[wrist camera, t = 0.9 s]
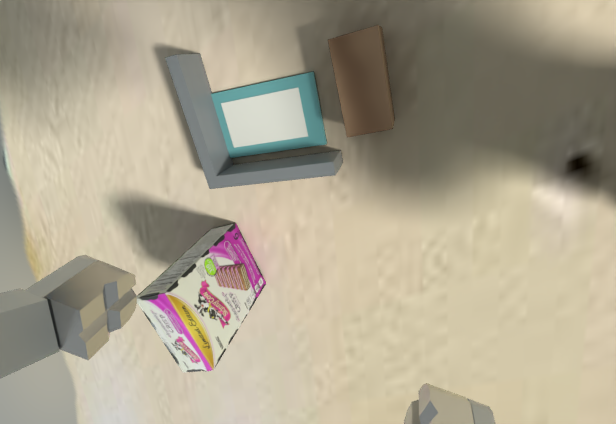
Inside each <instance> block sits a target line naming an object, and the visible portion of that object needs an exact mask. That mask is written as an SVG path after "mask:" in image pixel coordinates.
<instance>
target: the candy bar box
mask: <svg viewBox="0 0 616 424" xmlns="http://www.w3.org/2000/svg"><path fill="white" fill-rule="evenodd" d="M265 285H266V282H265V280H264V278H263V276H262V274H261V272H260V270H259V268H258V266H257V264H256V262H255V260H254V258H253V256H252V254H251V252H250V250H249V248H248V246H247V244H246V242H245V240H244V238H243V236H242V234H241V232H240V230H239V228H238V226H237V224H236V223H233V224H229V225H226V226H222V227H218V228H214V229H211V230H209V231H208V232H207V233H206V234H205V235H204V236H203V237H202V238H201V239H200V240H199V241H197V242H196V243H195V244H194V245H193V246H192V247H191V248H190V249H189V250H188V251H186V252H185V253H184V254H183V255H182V256H181V257H180V258H179V259H177V260H176V261H175V262H174V263H173V264H172V265H171V266H170V267H169V268H168V269H167V270H166V271H164V272H163V273H162V274H161V275H160V276H159V277H158V278H157V279H156V280H154V281H153V282H152V283H151V284H150V285H149V286H147V287H146V288H145V289H144V290H143V291H142V292H141V293H140V294H139V295H138V296H137V303H138V305H139V306H140V308H141V309H142V311H143V312H144V314H145V315H146V317H147V318H148V320H149V321H150V323H151V324H152V326H153V327H154V329H155V330H156V332H157V333H158V335H159V336H160V338H161V340H162V341H163V343H164V344H165V346H166V347H167V349H168V350H169V352H170V353H171V355H172V356H173V358H174V359H175V361H176V363H177V364H178V366H179V367H180V369H181V370H182V372H193V371H194V372H195V371H201V370H202V371H211V370H214V369H215V367H216V365H217V364H218V362H219V360H220V359H221V357H222V355H223V354H224V352H225V350H226V349H227V347H228V345H229V344H230V342H231V340H232V339H233V337H234V335H235V334H236V332H237V331H238V329H239V327H240V326H241V324H242V322H243V320H244V319H245V317H246V316H247V314H248V312H249V311H250V309H251V307H252V306H253V304H254V303H255V301H256V299H257V298H258V296H259V294H260V293H261V291H262V289H263V288H264V286H265Z"/></svg>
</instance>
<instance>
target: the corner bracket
mask: <svg viewBox="0 0 616 424" xmlns="http://www.w3.org/2000/svg"><path fill="white" fill-rule="evenodd" d="M165 59H166V62H167V65H168V68H169V71H170V74H171V77H172V80H173V83H174V86H175V89H176V92H177V94H178V97H179V100H180V103H181V106H182V109H183V112H184V115H185V118H186V121H187V124H188V127H189V130H190V133H191V136H192V139H193V141H194V144H195V147H196V150H197V153H198V156H199V159H200V162H201V165H202V168H203V171H204V174H205V177H206V180H207V183H208V185H209V188H210V189H214V188H223V187H232V186H242V185H251V184H260V183H269V182H278V181H287V180H296V179H305V178H314V177H323V176H332V175H336V174H337V172H338V170H339V168H340V167H341V165H342V163H343V160H342V154H341V150H339V151H332V152H324V153H317V154H309V155H302V156H294V157H287V158H279V159H272V160H265V161H257V162H250V163H242V164H235V165H233V161H232V158H234V157H241V156H248V155H255V154H262V153H269V152H276V151H283V150H290V149H297V148H304V147H311V146H318V145H325V144H327V140H326V135H325V130H324V124H323V119H322V113H321V108H320V102H319V97H318V91H317V86H316V80H315V75H314V72H309V73H305V74H300V75H296V76H291V77H287V78H282V79H277V80H273V81H268V82H264V83H259V84H255V85H250V86H245V87H241V88H236V89H232V90H227V91H223V92H218V93H213V94H212V92H211V88H210V85H209V82H208V78H207V75H206V72H205V69H204V65H203V62H202V59H201V55H200V54H177V55H173V56H169V57H166V58H165Z"/></svg>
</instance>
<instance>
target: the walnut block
mask: <svg viewBox="0 0 616 424" xmlns="http://www.w3.org/2000/svg"><path fill="white" fill-rule="evenodd" d="M328 44H329V49H330V54H331V59H332V64H333V69H334V74H335V79H336V84H337V89H338V94H339V99H340V104H341V109H342V114H343V119H344V124H345V129H346V135H347V137H352V136H357V135H362V134H368V133H373V132H379V131H384V130H389V129H393V126H394V121H395V117H394V110H393V103H392V95H391V88H390V81H389V74H388V67H387V60H386V53H385V46H384V39H383V31H382V27H380V26H379V25H376V26H373V27H369V28H366V29H363V30H359V31H356V32H352V33H349V34H346V35H342V36H339V37H335V38H332V39H329V40H328Z"/></svg>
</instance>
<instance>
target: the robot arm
mask: <svg viewBox="0 0 616 424" xmlns="http://www.w3.org/2000/svg"><path fill="white" fill-rule="evenodd" d="M135 284H136V280H135V275H134V274H132V273H129V272H127V271H124V270H122V269H120V268H117V267H115V266H112V265H110V264H107V263H105V262H102V261H100V260H97V259H95V258H92V257H89V256H87V255H82V256H78V257H76V258H75V259H73V260H71V261H70V262H68V263H67V264H65V265H64V266H62V267H60V268H59V269H57V270H56V271H54V272H53V273H51V274H49V275H48V276H46V277H45V278H43V279H42V280H40V281H38V282H37V283H35V284H34V285H32V286H31V287H29V288H28V289H26V290H23V289H15V290H11V291H7V292H3V293H0V378H3V377H5V376H7V375H9V374H11V373H13V372H15V371H18V370H20V369H22V368H24V367H26V366H29V365H31V364H33V363H35V362H37V361H39V360H41V359H44V358H46V357H48V356H50V355H52V354H54V353H56V352H59V349H60V350H63V351H66V352H68V353H71V354H73V355H76V356H79V357H81V358H84V359H87V360H89V359H90V358H91V357H92V356H93V355H94V354H95V353H96V352H97V351H98V350H99V349H100V348H101V347H102V346H104V345H105V344H106V343H107V342H108V341H109V335H110V332H112V331H114V330H117V329H120V328H122V327H123V326H124V325H125V324H126V323H127V322H128V320H129V319H130V317H131V316H132V314H133V312H134V311H135V308H136V304H137V296H136V294H135V293H134V291H133V290H132V287H133V286H134V285H135ZM404 424H495V420H494V416H493V412H492V410H491V409H490V407H489V406H486V405H484V404H481V403H478V402H475V401H473V400H470V399H466V398H465V397H463V396H460V395H458V394H455V393H452V392H449V391H446V390H444V389H441V388H438V387H435V386H433V385H430V384H427V383H426V384H424V385H422V387H421V388H420V390H419V400H416V401H413V402H412V403H411V404H410V406H409V408H408V410H407V413H406V417H405V420H404Z"/></svg>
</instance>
